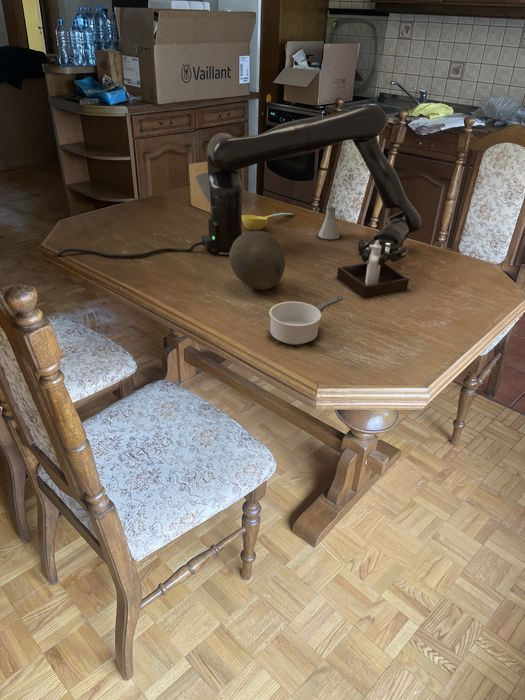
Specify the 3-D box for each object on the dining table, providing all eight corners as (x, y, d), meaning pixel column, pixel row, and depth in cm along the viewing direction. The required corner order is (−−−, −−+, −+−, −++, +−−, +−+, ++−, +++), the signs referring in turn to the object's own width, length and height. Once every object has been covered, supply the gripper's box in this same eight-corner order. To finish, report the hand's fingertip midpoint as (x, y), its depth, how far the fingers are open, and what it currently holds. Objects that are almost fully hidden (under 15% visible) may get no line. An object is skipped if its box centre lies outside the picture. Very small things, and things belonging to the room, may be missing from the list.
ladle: (234, 228, 179) (236, 210, 177) (280, 227, 200) (282, 211, 198) (255, 233, 174) (257, 215, 172) (299, 231, 195) (302, 215, 193)
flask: (340, 240, 174) (344, 210, 169) (318, 239, 174) (321, 209, 169) (338, 233, 181) (341, 203, 175) (317, 232, 181) (319, 202, 175)
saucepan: (356, 327, 125) (359, 306, 122) (290, 353, 115) (291, 330, 112) (322, 308, 133) (324, 288, 130) (258, 331, 122) (258, 309, 119)
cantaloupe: (277, 275, 149) (279, 222, 142) (288, 297, 138) (291, 241, 130) (227, 278, 147) (226, 224, 139) (233, 300, 135) (233, 244, 127)
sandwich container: (215, 215, 193) (214, 172, 186) (190, 205, 203) (188, 164, 195) (233, 210, 198) (233, 168, 191) (208, 201, 208) (207, 161, 200)
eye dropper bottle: (358, 283, 146) (364, 241, 139) (371, 277, 149) (376, 236, 143) (371, 288, 143) (378, 245, 137) (384, 282, 146) (390, 240, 140)
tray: (363, 298, 138) (365, 286, 137) (336, 278, 149) (338, 267, 147) (407, 290, 143) (409, 279, 142) (378, 271, 154) (379, 260, 152)
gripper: (366, 223, 154) (347, 241, 140) (416, 231, 148) (401, 251, 135) (363, 248, 157) (344, 268, 144) (411, 257, 152) (396, 279, 139)
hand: (372, 260), depth 140 cm, fingers closed on eye dropper bottle, 3 cm apart
